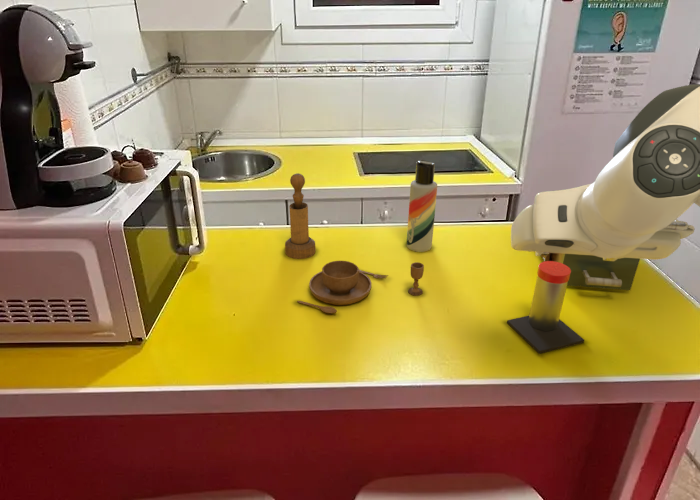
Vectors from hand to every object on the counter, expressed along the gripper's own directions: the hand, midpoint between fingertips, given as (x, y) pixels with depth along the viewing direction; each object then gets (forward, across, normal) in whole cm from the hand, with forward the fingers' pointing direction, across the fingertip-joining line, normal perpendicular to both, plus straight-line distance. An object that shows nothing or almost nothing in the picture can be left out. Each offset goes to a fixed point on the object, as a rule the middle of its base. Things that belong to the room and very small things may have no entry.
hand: (574, 253), depth 76 cm
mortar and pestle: (+32, +48, -7) cm, 58 cm away
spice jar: (+18, 0, +7) cm, 19 cm away
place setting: (+21, +33, +4) cm, 39 cm away
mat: (+17, 0, +9) cm, 19 cm away
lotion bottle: (+37, +22, -11) cm, 45 cm away
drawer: (+31, -12, -6) cm, 33 cm away
